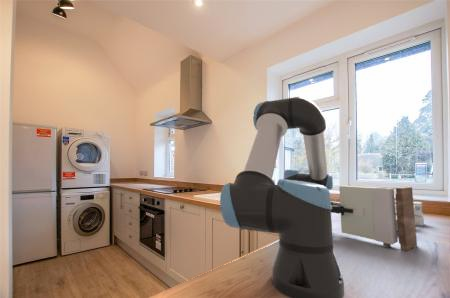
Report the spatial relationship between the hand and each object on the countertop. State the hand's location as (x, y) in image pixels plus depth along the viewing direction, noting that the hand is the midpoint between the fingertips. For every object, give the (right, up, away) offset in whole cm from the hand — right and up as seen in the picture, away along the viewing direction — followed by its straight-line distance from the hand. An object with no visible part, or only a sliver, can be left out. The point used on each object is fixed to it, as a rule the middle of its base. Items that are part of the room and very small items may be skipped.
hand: (365, 211), depth 81 cm
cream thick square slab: (0, -9, -1) cm, 9 cm away
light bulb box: (+40, -14, +28) cm, 51 cm away
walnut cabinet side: (+8, -10, -5) cm, 14 cm away
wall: (+19, -13, +15) cm, 27 cm away
